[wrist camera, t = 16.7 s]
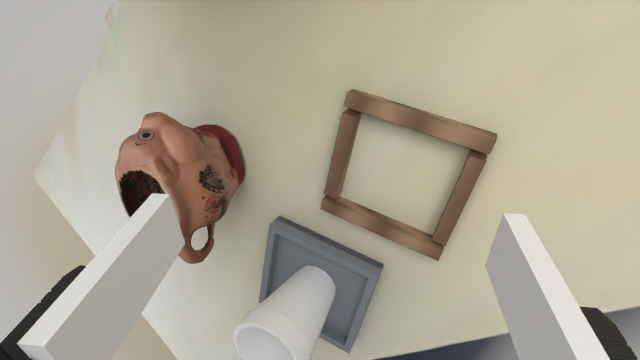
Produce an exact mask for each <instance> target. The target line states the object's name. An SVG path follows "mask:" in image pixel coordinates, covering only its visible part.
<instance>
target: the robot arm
mask: <svg viewBox="0 0 640 360" xmlns="http://www.w3.org/2000/svg"><path fill="white" fill-rule="evenodd" d="M184 244H185V241H184V238H183V234H182V231H181V228H180V225H179V222H178V219H177V216H176V213H175V210H174V207H173V204H172V201H171V197H170V194H154V193H152V194H151V195H150V196H149V197H148V199H147V200H146V201H145V202H144V203H143V204H142V205H141V206H140V207H139V209H138V210H137V211H136V212H135V213H134V214H133V215H132V216H131V217H130V219H129V220H128V221H127V222H126V223H125V224H124V225H123V226H122V227H121V228H120V230H119V231H118V232H117V233H116V234H115V235H114V236H113V237H112V238H111V240H110V241H109V242H108V243H107V244H106V245H105V246H104V247H103V248H102V250H101V251H100V252H99V253H98V254H97V255H96V256H95V257H94V258H93V260H92V261H91V262H90V263H89V264H88V265H87V266H78V267H77V268H75V269H74V270H72V271H71V272H69V273H68V274H66V275H65V276H63V278H62V279H61V280H60V281H59V282H58V283H57V284H56V285H55V286H54V287H53V288H52V290H51V292H48V293H47V294H46V295H45V297H44V298H43V299H42V300H41V303H38V304H37V305H36V306H35V307H34V308H33V309H32V310H31V311H30V312H29V314H28V315H27V316H26V317H25V318H24V319H23V320H22V321H21V322H20V323H19V324H18V325H17V326H16V327H15V328H14V329H13V331H12V332H11V333H10V334H9V335H8V336H7V337H6V338H5V339H4V340H3V341H2V342H1V343H0V360H111V359H112V358H113V356H114V355H115V353H116V352H117V350H118V348H119V347H120V345H121V344H122V342H123V341H124V339H125V337H126V336H127V334H128V333H129V331H130V330H131V328H132V326H133V325H134V323H135V322H136V320H137V319H138V317H139V315H140V314H141V312H142V311H143V309H144V308H145V306H146V304H147V303H148V301H149V300H150V298H151V296H152V295H153V293H154V292H155V290H156V289H157V287H158V285H159V284H160V282H161V281H162V279H163V278H164V276H165V274H166V273H167V271H168V270H169V268H170V267H171V265H172V263H173V262H174V260H175V259H176V257H177V255H178V254H179V252H180V251H181V249H182V248H183V246H184ZM485 266H486V269H487V272H488V274H489V277H490V280H491V283H492V285H493V288H494V291H495V294H496V296H497V299H498V302H499V305H500V307H501V310H502V313H503V316H504V318H505V321H506V324H507V326H508V329H509V332H510V335H511V337H512V340H513V343H514V345H515V348H516V351H517V354H518V357H519V359H520V360H637V357H636V356H635V354H634V353H633V351H632V349H631V348H630V347H629V346H627V342H626V341H625V339H624V337H623V336H622V334H621V333H620V331H619V330H618V328H617V327H616V325H615V324H614V323H613V322H612V321H611V320H610V319H609V318H607V317H606V316H605V315H604V314H603V313H602V312H601V311H600V310H599V309H598V308H589V307H579V306H578V304H577V302H576V301H575V299H574V297H573V295H572V294H571V292H570V290H569V289H568V287H567V285H566V284H565V282H564V280H563V278H562V277H561V275H560V273H559V272H558V270H557V268H556V266H555V265H554V263H553V261H552V260H551V258H550V256H549V255H548V253H547V251H546V249H545V248H544V246H543V244H542V243H541V241H540V239H539V237H538V236H537V234H536V232H535V231H534V229H533V227H532V226H531V224H530V222H529V220H528V219H527V217H526V215H523V214H505V213H503V215H502V218H501V221H500V224H499V227H498V230H497V233H496V236H495V238H494V241H493V244H492V247H491V250H490V253H489V256H488V259H487V261H486V264H485Z"/></svg>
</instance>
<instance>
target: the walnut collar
mask: <svg viewBox="0 0 640 360" xmlns="http://www.w3.org/2000/svg"><path fill="white" fill-rule="evenodd" d="M344 106H345V107H348V108H351V109H354V110H357V111H360V112H363V113H366V114H369V115H372V116H375V117H378V118H381V119H384V120H387V121H390V122H393V123H396V124H399V125H402V126H405V127H408V128H411V129H414V130H417V131H420V132H423V133H426V134H429V135H432V136H435V137H438V138H441V139H444V140H447V141H450V142H453V143H456V144H459V145H462V146H465V147H468V148H471V149H474V150H477V151H480V152H483V153H486V154H490V152H491V150H492V148H493V146H494V144H495V142H496V140H497V134H495V133H492V132H489V131H486V130H483V129H480V128H476V127H473V126H470V125H467V124H464V123H460V122H457V121H454V120H451V119H448V118H444V117H441V116H438V115H435V114H432V113H429V112H425V111H422V110H419V109H416V108H413V107H409V106H406V105H403V104H400V103H397V102H393V101H390V100H387V99H384V98H381V97H378V96H374V95H371V94H368V93H365V92H362V91H358V90H355V89H353V90H351V91H348V92H347V94H346V98H345V103H344ZM351 109H348V110H346V111H344V112H343V113H342V116H341V120H340V125H339V129H338V133H337V138H336V142H335V147H334V151H333V155H332V160H331V164H330V169H329V173H328V177H327V182H326V186H325V191H324V194H325V195H326V196H325V197H324V198H323V199H322V204H321V208H320V209H322V210H324V211H326V212H329V213H331V214H333V215H335V216H338V217H340V218H342V219H344V220H347V221H349V222H351V223H353V224H356V225H358V226H360V227H363V228H365V229H367V230H369V231H372V232H374V233H376V234H378V235H381V236H383V237H385V238H387V239H390V240H392V241H394V242H397V243H399V244H401V245H403V246H406V247H408V248H410V249H412V250H415V251H417V252H419V253H421V254H424V255H426V256H428V257H431V258H433V259H435V260H437V261H438V260H439V258H440V256H441V254H442V252H443V249H444V245H445V246H446V243H447V241H448V239H449V237H450V235H451V233H452V231H453V229H454V227H455V225H456V223H457V221H458V219H459V217H460V214H461V212H462V210H463V208H464V206H465V204H466V202H467V200H468V198H469V196H470V194H471V192H472V190H473V188H474V185H475V183H476V181H477V179H478V177H479V175H480V173H481V171H482V169H483V167H484V165H485V163H486V158H487V155H486V154H483V153H480V152H477V151H474V150H471V152H470V154H469V156H468V158H467V161H466V163H465V165H464V167H463V169H462V172H461V174H460V176H459V178H458V181H457V183H456V185H455V187H454V189H453V192H452V194H451V196H450V198H449V201H448V203H447V205H446V207H445V209H444V212H443V214H442V216H441V218H440V221H439V223H438V225H437V227H436V229H435V232H434V235H433V236H432V235H429V234H427V233H425V232H422V231H420V230H417V229H415V228H413V227H410V226H408V225H406V224H403V223H401V222H398V221H396V220H394V219H391V218H389V217H387V216H384V215H382V214H379V213H377V212H375V211H372V210H370V209H368V208H365V207H363V206H360V205H358V204H356V203H353V202H351V201H349V200H346V199H344V198H341V197H339V196H338V195H339V194H340V192H341V190H342V186H343V182H344V178H345V175H346V171H347V167H348V163H349V159H350V155H351V151H352V147H353V143H354V139H355V136H356V132H357V128H358V124H359V120H360V116H361V113H360V112H357V111H354V110H351Z"/></svg>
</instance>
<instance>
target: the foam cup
mask: <svg viewBox="0 0 640 360" xmlns="http://www.w3.org/2000/svg"><path fill="white" fill-rule="evenodd" d="M335 290H336V287H335V285H334V282H333V280H332V279H331V277H330V276H329V275H328V274H327V273H326V272H325V271H323V270H321V269H319V268H317V267H313V266H306V267H303V268H301V269H300V270H298V271H297V272H296V273H295V274H294V275H293V276H291V277H290V278H289V279H288V280H287V281H286V282H285V283H283V284H282V285H281V286H280V287H279V288H278V289H277V290H276V291H274V292H273V293H272V294H271V295H270V296H269V297H268V298H266V299H265V300H264V301H263V302H262V303H261V304H260V305H259V306H257V307H256V308H255V309H254V310H251V311H249V313H248V314H247V315H246V316H245V317H244V318H243V320H242V321H241V322H240V323H239V324H238V325H237V327H236V329H235V331H234V332H233V341H234V346H235V348H236V350H237V352H238V354H239V356H240V358H241V360H311V355H312V353H313V350H314V348H315V345H316V343H317V340H318V337H319V335H320V332H321V330H322V327H323V325H324V322H325V320H326V317H327V315H328V312H329V310H330V307H331V305H332V302H333V299H334V296H335Z"/></svg>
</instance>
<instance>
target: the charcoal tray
mask: <svg viewBox="0 0 640 360" xmlns="http://www.w3.org/2000/svg"><path fill="white" fill-rule="evenodd" d="M383 265H384V264H382V263H379V262H377V261H375V260H373V259H371V258H369V257H367V256H364V255H362V254H360V253H358V252H356V251H354V250H352V249H349V248H347V247H345V246H343V245H341V244H339V243H337V242H334V241H332V240H330V239H328V238H326V237H324V236H322V235H319V234H317V233H315V232H313V231H311V230H309V229H307V228H304V227H302V226H300V225H298V224H296V223H294V222H292V221H289V220H287V219H285V218H283V217H281V216H279V217H278V218H276V219H275V220H274V221H273V222H272V223H271V224H270V227H269V234H268V241H267V248H266V255H265V262H264V269H263V276H262V284H261V291H260V298H259V303H262V302H263V301H264V300H265V299H266V298H268V297H269V296H270V295H271V294H272V293H273V292H274V291H276V290H277V289H278V288H279V287H280V286H281V285H282V284H283V283H285V282H286V281H287V280H288V279H289V278H290V277H291V276H293V275H294V274H295V273H296V272H297V271H298V270H300V269H301V268H303V267H306V266H313V267H317V268H319V269H321V270H323V271H325V272H326V273H327V274H328V275H329V276H330V277H331V279H332V280H333V282H334V285H335V287H336V290H335V296H334V299H333V302H332V305H331V307H330V310H329V312H328V315H327V317H326V320H325V322H324V325H323V327H322V330H321V332H320V335H319V337H321V338H323V339H324V340H326V341H328V342H330V343H331V344H333V345H335V346H337V347H339V348H340V349H342V350H344V351H346V352H347V353H350V350H351V348H352V346H353V344H354V342H355V339H356V337H357V334H358V331H359V329H360V326H361V324H362V321H363V318H364V316H365V313H366V310H367V308H368V305H369V302H370V300H371V297H372V294H373V292H374V289H375V287H376V284H377V281H378V279H379V276H380V273H381V271H382V268H383Z"/></svg>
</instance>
